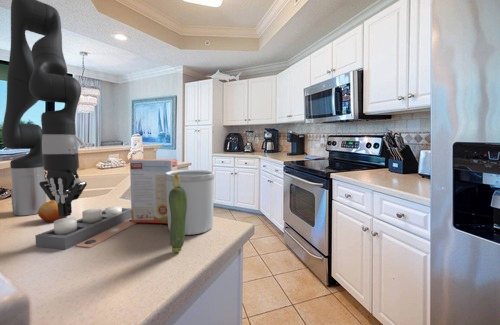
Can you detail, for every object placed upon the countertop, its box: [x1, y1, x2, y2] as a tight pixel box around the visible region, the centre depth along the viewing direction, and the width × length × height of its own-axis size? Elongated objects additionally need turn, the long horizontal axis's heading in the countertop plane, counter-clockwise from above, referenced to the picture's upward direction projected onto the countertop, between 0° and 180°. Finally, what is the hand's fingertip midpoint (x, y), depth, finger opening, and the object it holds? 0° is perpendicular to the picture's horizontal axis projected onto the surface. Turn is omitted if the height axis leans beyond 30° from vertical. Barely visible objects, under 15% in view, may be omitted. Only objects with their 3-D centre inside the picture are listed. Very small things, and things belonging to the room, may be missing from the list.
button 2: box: [104, 205, 123, 215], centre depth 85 cm, size 5×5×3 cm
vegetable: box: [169, 173, 187, 254], centre depth 61 cm, size 4×4×20 cm
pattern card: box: [74, 218, 139, 249], centre depth 75 cm, size 4×23×1 cm, turn 170°
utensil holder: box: [166, 169, 216, 236], centre depth 77 cm, size 15×15×18 cm
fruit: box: [37, 200, 68, 223], centre depth 85 cm, size 8×8×8 cm
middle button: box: [81, 208, 103, 224], centre depth 76 cm, size 5×5×3 cm
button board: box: [34, 207, 132, 250], centre depth 76 cm, size 9×27×3 cm, turn 170°
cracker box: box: [129, 158, 179, 225], centre depth 82 cm, size 14×6×21 cm, turn 84°
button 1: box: [53, 217, 78, 235], centre depth 67 cm, size 5×5×3 cm
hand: (65, 215), depth 67 cm, fingers closed
